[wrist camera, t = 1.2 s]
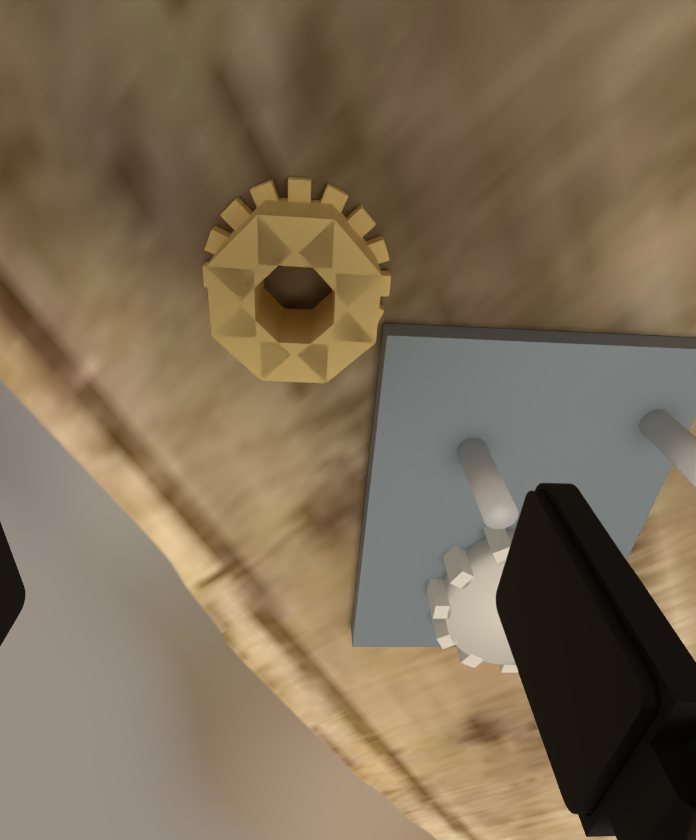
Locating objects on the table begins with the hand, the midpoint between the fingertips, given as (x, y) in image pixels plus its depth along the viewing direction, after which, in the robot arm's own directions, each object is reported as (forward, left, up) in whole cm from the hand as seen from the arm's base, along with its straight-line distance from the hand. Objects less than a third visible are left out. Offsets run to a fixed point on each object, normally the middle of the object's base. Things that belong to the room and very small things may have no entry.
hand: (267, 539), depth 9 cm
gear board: (+13, +12, -16) cm, 24 cm away
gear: (0, 0, -16) cm, 16 cm away
